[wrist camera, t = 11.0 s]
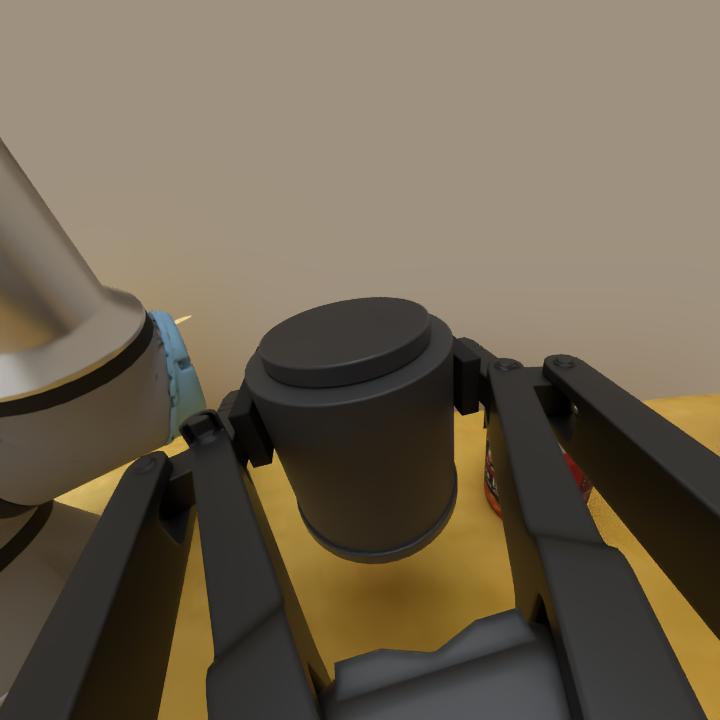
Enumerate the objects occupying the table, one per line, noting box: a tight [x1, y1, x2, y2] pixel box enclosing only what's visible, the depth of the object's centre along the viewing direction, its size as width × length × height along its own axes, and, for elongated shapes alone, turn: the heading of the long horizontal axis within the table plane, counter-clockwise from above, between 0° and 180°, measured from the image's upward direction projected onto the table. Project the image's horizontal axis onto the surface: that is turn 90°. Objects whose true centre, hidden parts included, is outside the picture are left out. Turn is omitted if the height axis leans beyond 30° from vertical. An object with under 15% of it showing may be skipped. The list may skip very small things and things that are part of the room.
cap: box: [245, 297, 457, 564], centre depth 13 cm, size 9×9×9 cm
